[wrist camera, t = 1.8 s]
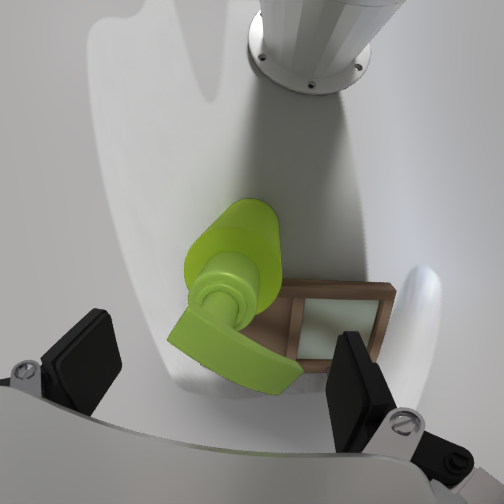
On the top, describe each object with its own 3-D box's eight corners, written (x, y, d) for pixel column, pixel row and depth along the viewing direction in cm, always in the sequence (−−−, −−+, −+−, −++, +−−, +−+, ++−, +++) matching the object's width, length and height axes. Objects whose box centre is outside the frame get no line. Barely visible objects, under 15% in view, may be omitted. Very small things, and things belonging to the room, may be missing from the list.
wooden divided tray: (199, 272, 31) (186, 293, 26) (389, 282, 30) (407, 303, 25) (203, 354, 34) (194, 381, 29) (368, 360, 33) (378, 386, 28)
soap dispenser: (265, 270, 30) (251, 425, 11) (211, 234, 30) (116, 350, 11) (298, 225, 29) (341, 345, 10) (241, 187, 28) (173, 239, 9)
